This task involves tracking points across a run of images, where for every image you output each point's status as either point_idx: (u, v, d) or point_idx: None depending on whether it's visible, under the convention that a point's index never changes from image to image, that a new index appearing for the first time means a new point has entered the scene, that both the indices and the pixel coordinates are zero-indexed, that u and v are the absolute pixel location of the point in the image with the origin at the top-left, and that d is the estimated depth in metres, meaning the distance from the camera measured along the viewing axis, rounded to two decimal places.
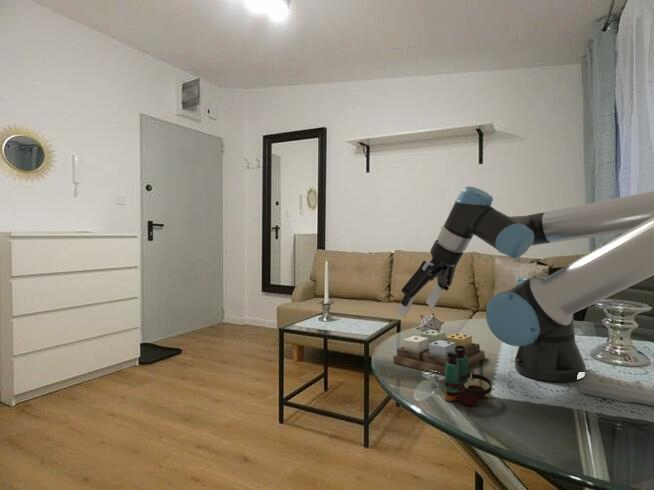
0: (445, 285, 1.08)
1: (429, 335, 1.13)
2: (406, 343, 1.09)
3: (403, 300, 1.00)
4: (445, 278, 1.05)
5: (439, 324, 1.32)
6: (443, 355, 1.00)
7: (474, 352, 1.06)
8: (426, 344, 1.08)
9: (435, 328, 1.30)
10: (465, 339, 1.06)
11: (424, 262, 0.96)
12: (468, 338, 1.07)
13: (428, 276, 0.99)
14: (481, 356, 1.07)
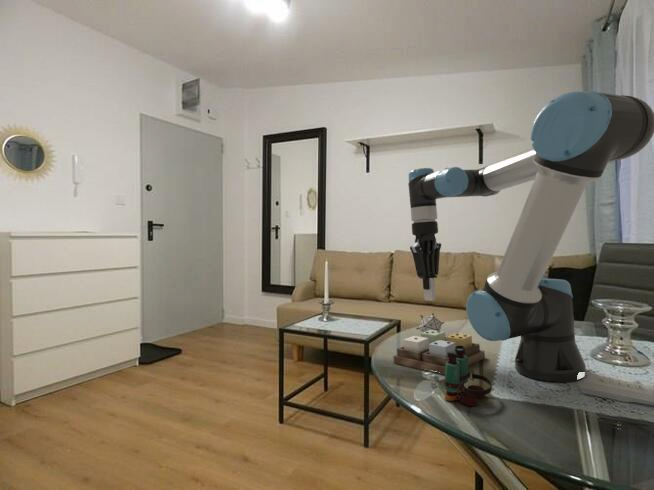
0: (433, 272, 1.15)
1: (429, 335, 1.13)
2: (406, 343, 1.09)
3: (424, 285, 1.14)
4: (433, 259, 1.15)
5: (439, 324, 1.32)
6: (443, 355, 1.00)
7: (474, 352, 1.06)
8: (426, 344, 1.08)
9: (435, 328, 1.30)
10: (465, 339, 1.06)
11: (411, 247, 1.11)
12: (468, 338, 1.07)
13: (424, 255, 1.13)
14: (481, 356, 1.07)
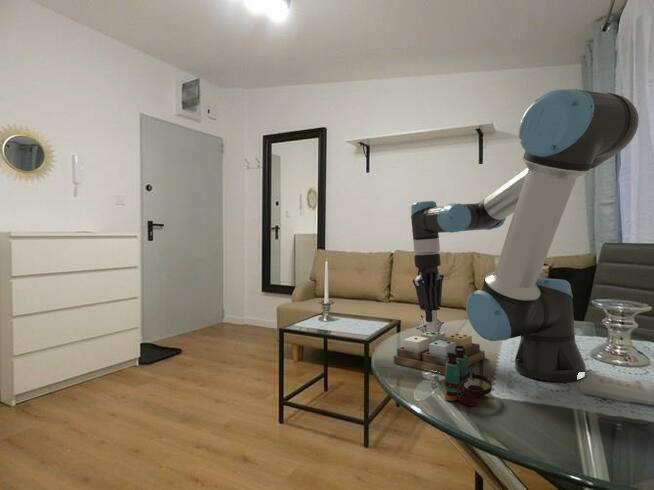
0: (436, 304, 1.15)
1: (429, 336, 1.13)
2: (406, 343, 1.09)
3: (427, 317, 1.14)
4: (435, 291, 1.15)
5: (439, 324, 1.32)
6: (443, 355, 1.00)
7: (474, 352, 1.06)
8: (426, 344, 1.08)
9: None
10: (465, 339, 1.06)
11: (413, 281, 1.11)
12: (468, 338, 1.07)
13: (427, 287, 1.13)
14: (481, 356, 1.07)
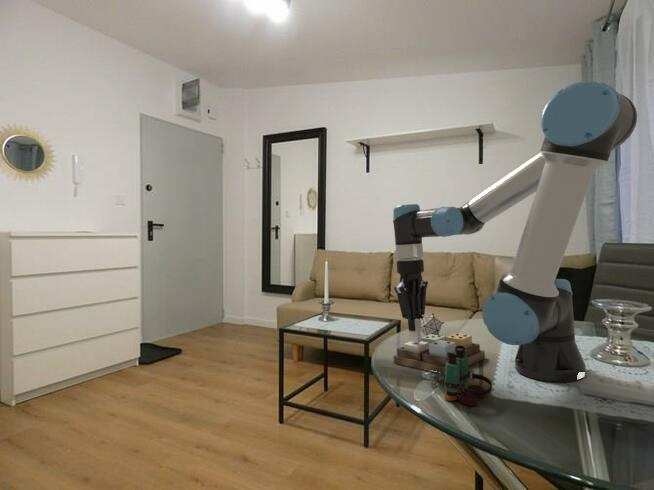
0: (419, 312, 1.09)
1: (429, 340, 1.13)
2: (406, 347, 1.09)
3: (409, 326, 1.08)
4: (418, 299, 1.09)
5: (439, 324, 1.32)
6: (443, 355, 1.00)
7: (474, 352, 1.06)
8: (426, 348, 1.08)
9: (435, 328, 1.30)
10: (465, 339, 1.06)
11: (395, 288, 1.06)
12: (468, 338, 1.07)
13: (410, 295, 1.07)
14: (481, 356, 1.07)
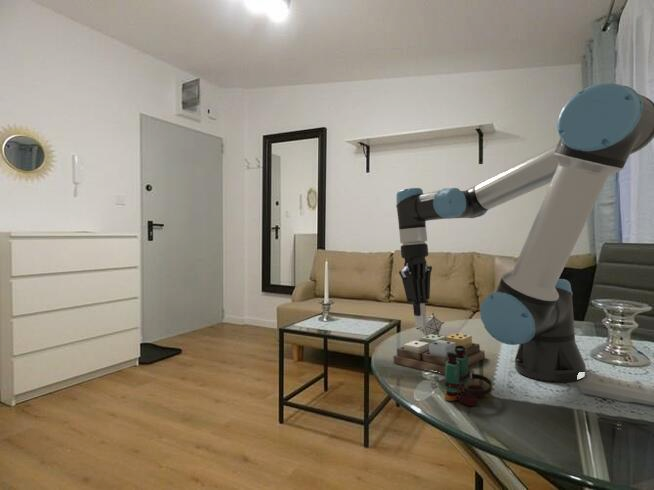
0: (424, 296, 1.09)
1: (429, 340, 1.13)
2: (406, 348, 1.09)
3: (414, 311, 1.08)
4: (423, 284, 1.09)
5: (439, 324, 1.32)
6: (443, 355, 1.00)
7: (474, 352, 1.06)
8: None
9: (435, 328, 1.30)
10: (465, 339, 1.06)
11: (400, 272, 1.05)
12: (468, 338, 1.07)
13: (414, 279, 1.07)
14: (481, 356, 1.07)
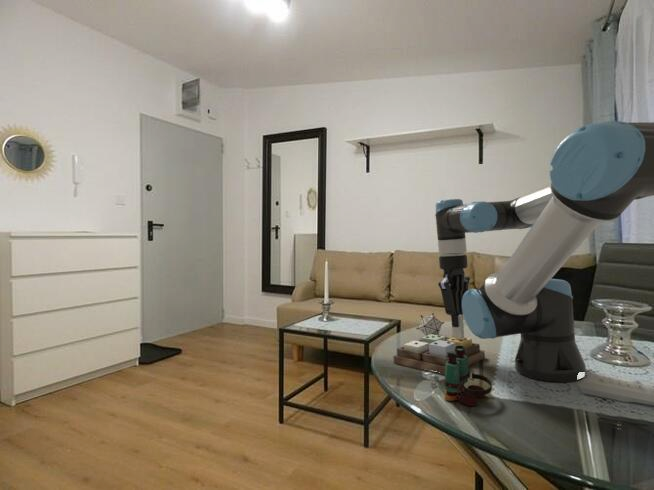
0: None
1: (429, 340, 1.13)
2: (406, 348, 1.09)
3: (453, 322, 1.07)
4: (461, 295, 1.08)
5: (439, 324, 1.32)
6: (443, 355, 1.00)
7: (474, 352, 1.06)
8: None
9: (435, 328, 1.30)
10: (465, 342, 1.06)
11: (439, 283, 1.05)
12: (468, 341, 1.07)
13: (453, 290, 1.07)
14: (481, 356, 1.07)
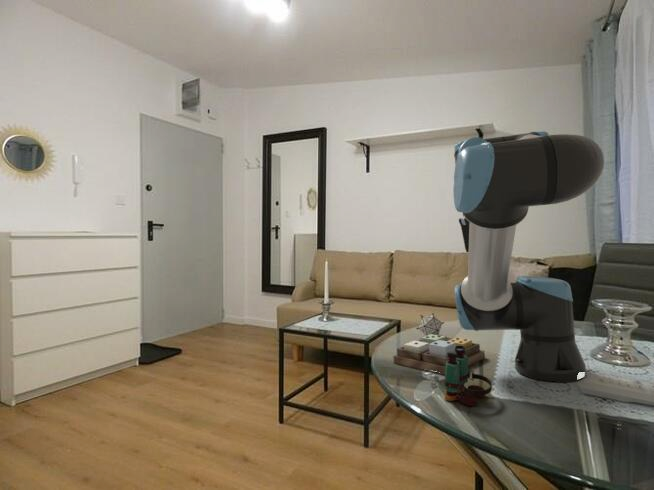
0: None
1: (429, 340, 1.13)
2: (406, 348, 1.09)
3: None
4: None
5: (439, 324, 1.32)
6: (443, 355, 1.00)
7: (474, 352, 1.06)
8: None
9: (435, 328, 1.30)
10: (465, 343, 1.06)
11: (460, 220, 1.10)
12: (468, 342, 1.07)
13: None
14: (481, 356, 1.07)
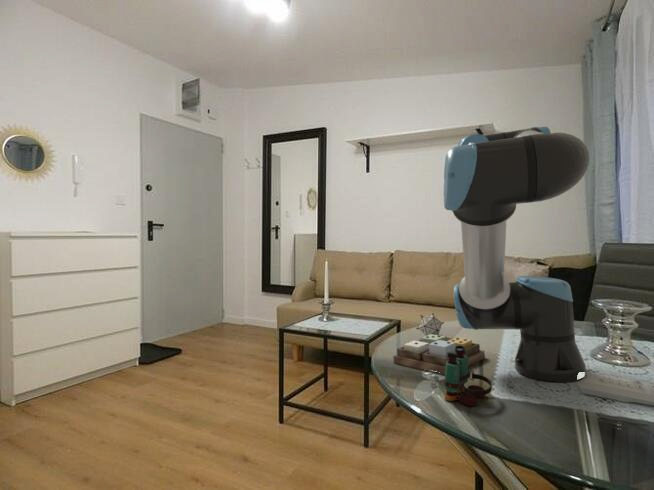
0: None
1: (429, 340, 1.13)
2: (406, 348, 1.09)
3: None
4: None
5: (439, 324, 1.32)
6: (443, 355, 1.00)
7: (474, 352, 1.06)
8: None
9: (435, 328, 1.30)
10: (465, 343, 1.06)
11: None
12: (468, 342, 1.07)
13: None
14: (481, 356, 1.07)
